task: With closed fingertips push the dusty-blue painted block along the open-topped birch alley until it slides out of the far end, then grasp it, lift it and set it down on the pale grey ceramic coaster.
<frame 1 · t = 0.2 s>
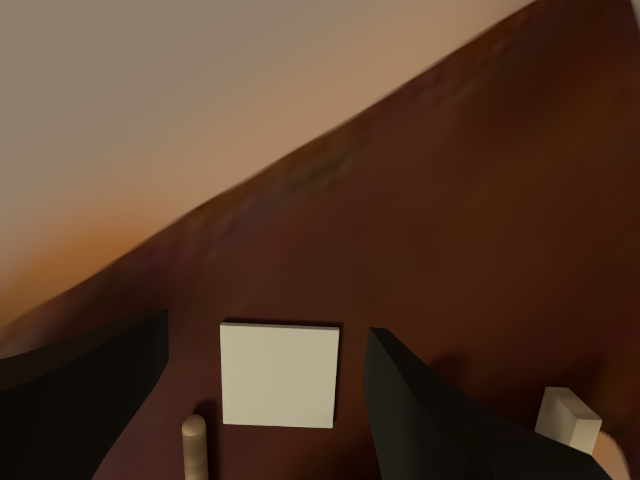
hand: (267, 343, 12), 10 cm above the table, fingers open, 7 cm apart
dowel: (201, 471, 26), on the table
alley: (475, 446, 25), on the table
coaster: (279, 375, 23), on the table
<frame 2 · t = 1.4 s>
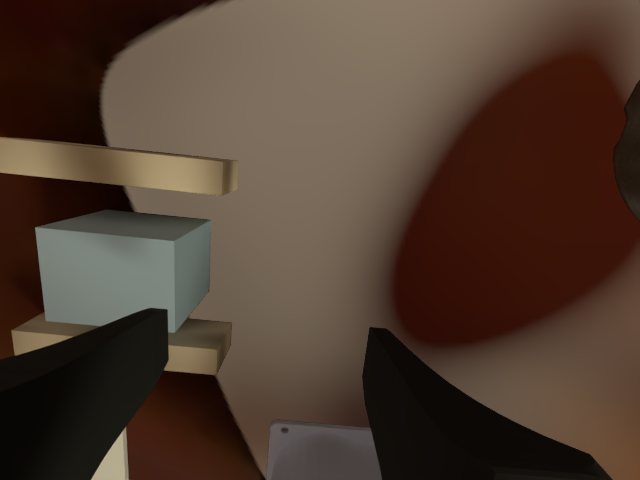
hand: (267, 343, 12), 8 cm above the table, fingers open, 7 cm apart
block: (160, 251, 20), on the table
alley: (142, 250, 20), on the table
coaster: (69, 445, 23), on the table
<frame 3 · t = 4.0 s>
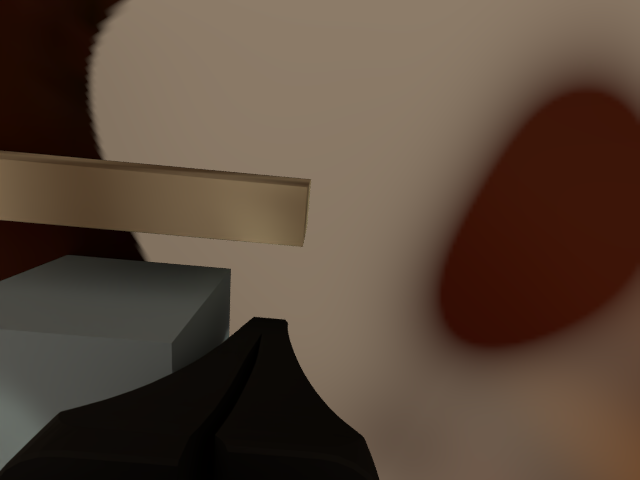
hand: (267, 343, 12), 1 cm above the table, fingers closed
block: (151, 316, 13), on the table, touching gripper
alley: (157, 317, 13), on the table
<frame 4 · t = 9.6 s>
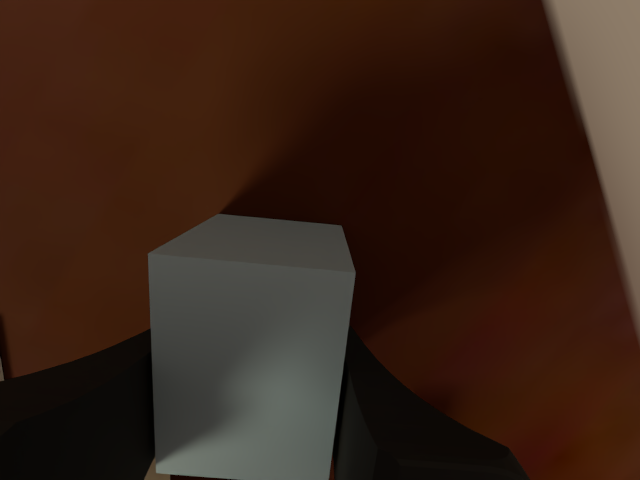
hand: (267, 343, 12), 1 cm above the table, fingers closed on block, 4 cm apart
block: (275, 295, 13), on the table, touching gripper
when the fingers open (3 cm above the table, at t = 13.0 s): block stays where it is, resting on coaster.
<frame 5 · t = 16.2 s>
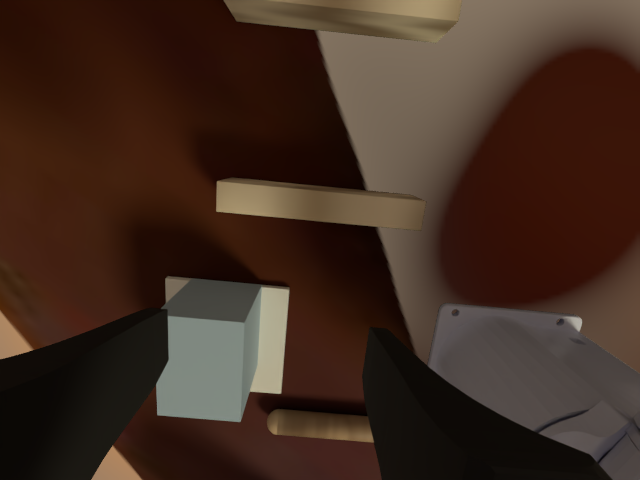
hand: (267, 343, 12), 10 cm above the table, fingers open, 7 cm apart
dowel: (347, 418, 24), on the table
block: (226, 323, 22), resting on coaster
alley: (329, 113, 19), on the table
coaster: (227, 335, 23), on the table
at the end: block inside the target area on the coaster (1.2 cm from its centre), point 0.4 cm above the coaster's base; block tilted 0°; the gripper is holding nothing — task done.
